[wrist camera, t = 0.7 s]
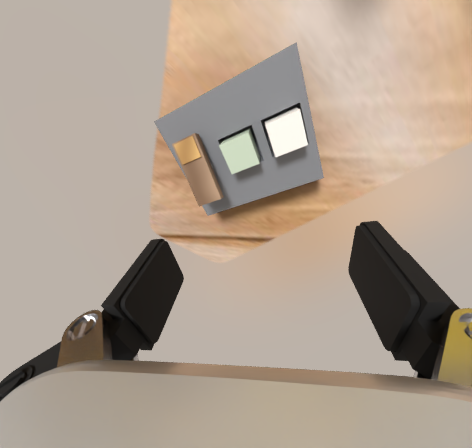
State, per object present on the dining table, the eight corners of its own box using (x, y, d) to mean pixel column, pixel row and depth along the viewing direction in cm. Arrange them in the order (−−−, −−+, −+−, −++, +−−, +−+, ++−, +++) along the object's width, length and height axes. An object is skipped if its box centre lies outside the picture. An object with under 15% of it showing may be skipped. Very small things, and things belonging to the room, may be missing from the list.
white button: (295, 107, 22) (300, 109, 19) (303, 139, 24) (308, 144, 21) (265, 121, 23) (265, 124, 20) (274, 150, 25) (275, 157, 22)
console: (291, 50, 21) (297, 39, 17) (316, 167, 28) (325, 180, 24) (167, 118, 27) (150, 122, 22) (213, 203, 33) (206, 219, 29)
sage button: (250, 128, 24) (248, 132, 21) (260, 156, 25) (259, 163, 23) (223, 140, 25) (218, 145, 22) (235, 166, 26) (231, 174, 24)
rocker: (198, 133, 23) (193, 132, 22) (223, 196, 25) (220, 199, 24) (176, 144, 24) (170, 144, 23) (202, 204, 26) (198, 206, 25)
